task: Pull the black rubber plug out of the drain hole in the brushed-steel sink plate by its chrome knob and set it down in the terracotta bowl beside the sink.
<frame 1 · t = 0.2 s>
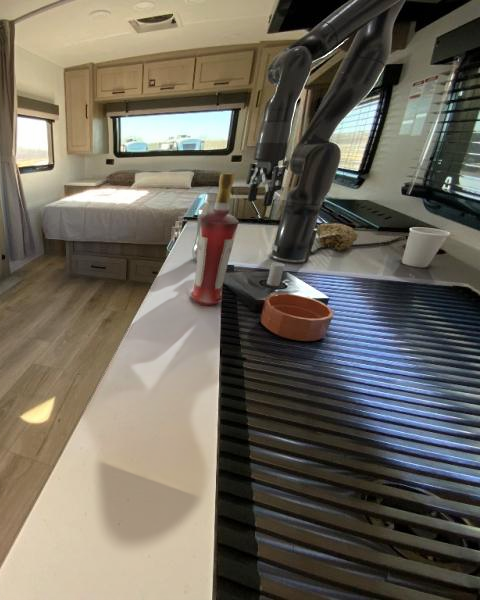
hand: (258, 203, 95), 17 cm above the worktop, tool pointing down, fingers open, 8 cm apart
dixie cup: (414, 264, 98), on the worktop
sink plate: (269, 295, 80), on the worktop
plastic bottle: (202, 261, 103), on the worktop
bowl: (291, 327, 66), on the worktop
plug: (273, 280, 78), in the hole of the sink plate
liquor: (205, 301, 77), on the worktop
sponge: (331, 244, 117), on the worktop
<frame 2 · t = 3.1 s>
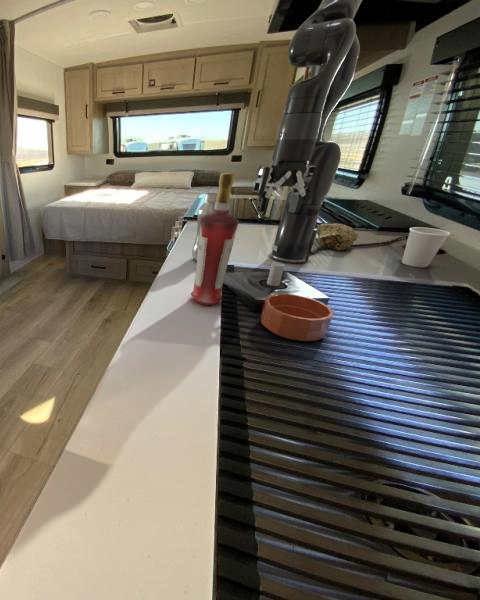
hand: (277, 212, 79), 18 cm above the worktop, tool pointing down, fingers open, 8 cm apart
nothing on the worktop moved.
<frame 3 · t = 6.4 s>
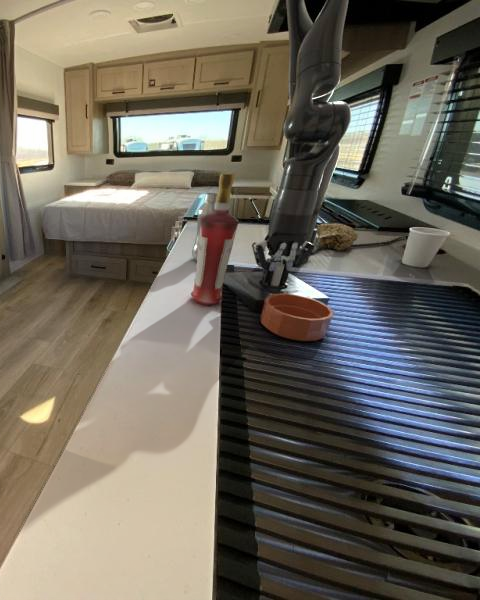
hand: (273, 283, 78), 3 cm above the worktop, tool pointing down, fingers closed on plug, 2 cm apart
plug: (273, 280, 78), in the hole of the sink plate, touching gripper
everything else where it was.
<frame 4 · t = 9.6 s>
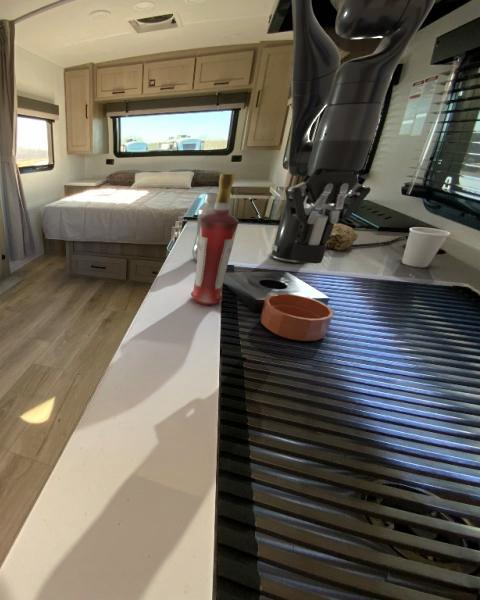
hand: (310, 242, 60), 17 cm above the worktop, tool pointing down, fingers closed on plug, 2 cm apart
plug: (312, 237, 60), point 18 cm above the worktop, touching gripper
everything else where it was.
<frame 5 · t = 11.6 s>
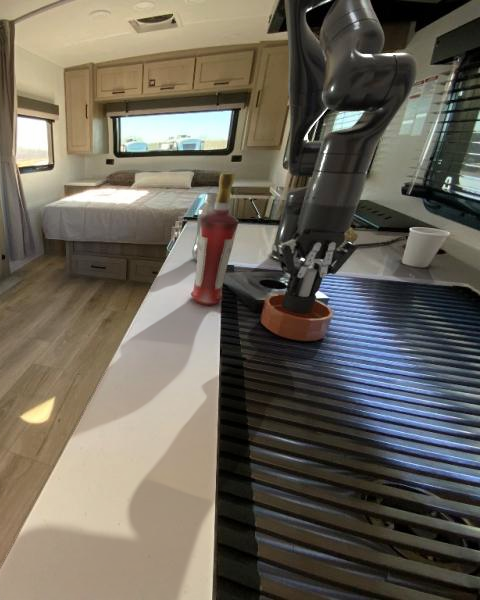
hand: (301, 293, 63), 8 cm above the worktop, tool pointing down, fingers closed on plug, 2 cm apart
plug: (302, 289, 62), point 8 cm above the worktop, touching gripper
everything else where it was.
when the fingers open (4 cm above the worktop, at t = 13.0 s): plug stays where it is, resting on bowl.
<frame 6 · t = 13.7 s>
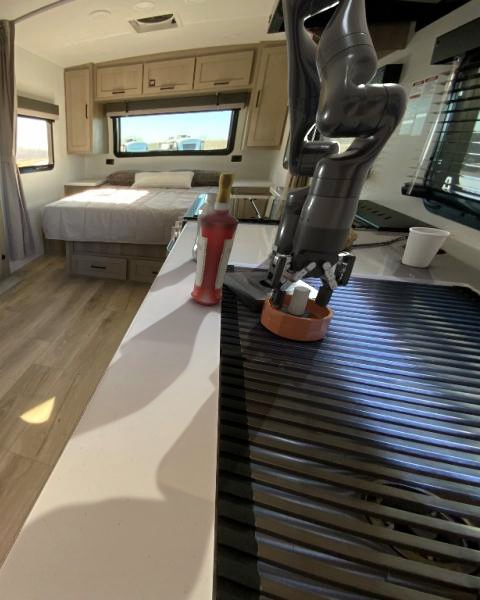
hand: (298, 305, 64), 5 cm above the worktop, tool pointing down, fingers open, 8 cm apart
plug: (296, 307, 64), in the bowl, point 5 cm above the worktop
everything else where it was.
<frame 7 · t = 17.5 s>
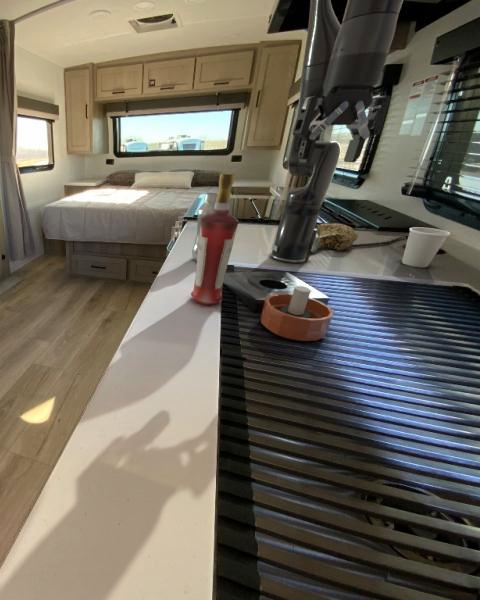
hand: (327, 162, 61), 30 cm above the worktop, tool pointing down, fingers open, 8 cm apart
nothing on the worktop moved.
at the end: plug 0.1 cm off-centre in the bowl, point 4.6 cm above the bowl's base; plug moved 15.6 cm from its start; the gripper is holding nothing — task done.
